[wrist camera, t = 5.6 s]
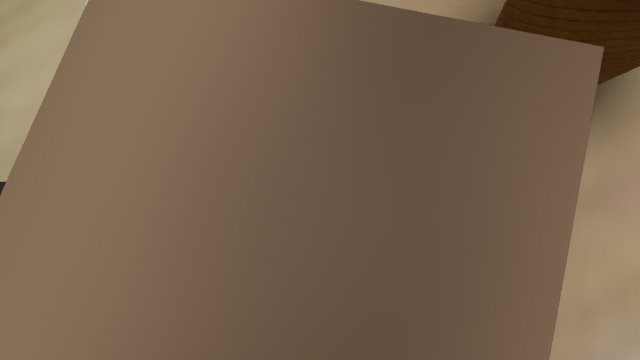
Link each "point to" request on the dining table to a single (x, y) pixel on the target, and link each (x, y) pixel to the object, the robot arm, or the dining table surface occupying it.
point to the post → (295, 186)
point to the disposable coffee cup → (583, 27)
